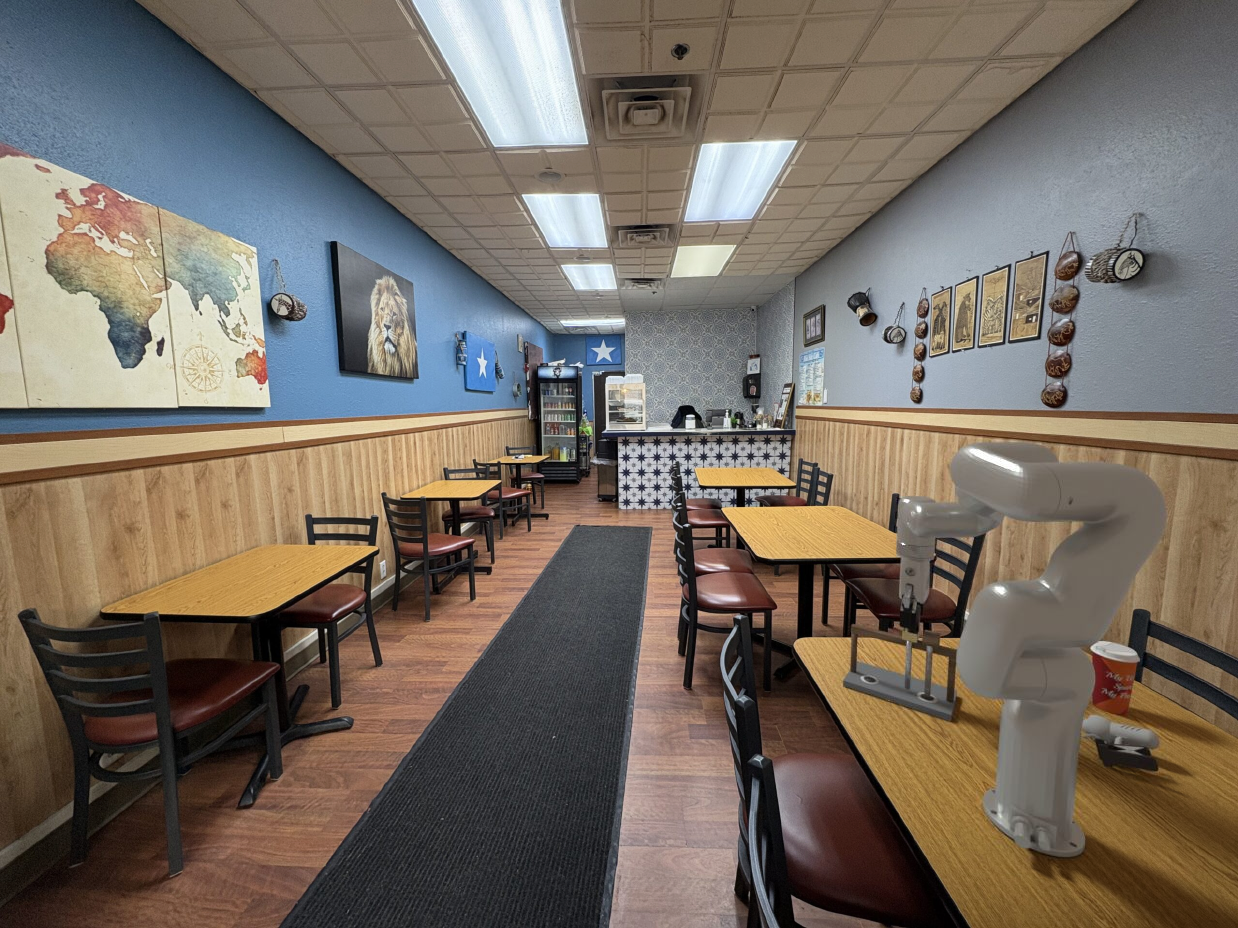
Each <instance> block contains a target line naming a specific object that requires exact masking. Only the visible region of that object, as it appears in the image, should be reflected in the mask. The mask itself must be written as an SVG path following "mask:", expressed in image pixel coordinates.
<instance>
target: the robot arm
mask: <svg viewBox="0 0 1238 928" xmlns="http://www.w3.org/2000/svg"><path fill="white" fill-rule="evenodd" d="M949 474H950V478H951V481H952V483H953V484H954V494H955V497H956V500H957V501H948V502H947V501H941V502H940V501H939V502H936V500H934V499H933V498H931V497H928V496H927V497H926V496H921V495H907V496H906V495H905V496H902V497H901V498H899V501H898V506H897V507H898V508H897V527H896V528H897V531H896V549H895V553H896V554H895V555H896V556H898V557H900V569H899V588H898V595H899V598H900V600H901V603H900V604H901V605H900V609H899V625H898V627H900V628H902V629H903V628H907V629H911V630H915V629H916V619H917V613H916V612H915V611H916V604H918V605H920V606H921V608H920V616H923V614H924V603H925V602H926V600H927V598H928V596H929V594H930V576H931V575H930V573H931V571H930V569H931V566H930V562H931V561H933V560H934V559H935V552H936V551H935V548H936V539H942V538H944V539H945V538H946V539H947V538H952V539H953V538H955V539H956V538H960V539H961V538H967V539H968V538H974V537H979V536H982V535H984V534H986V533H989V532H991V531H993V530H995V529H997V528H998V527H1000V526H1001V525H1002V523H1003V522H1004V520H1005V517H1007V518H1010V519H1012V520H1015V521H1021V522H1027V523H1028V522H1029V523H1069V522H1070V523H1073V522H1074V523H1075V522H1076V523H1077V522H1082V523H1083V524H1082V525H1081V526H1080V527H1079V528H1078V529H1077V530H1075V531H1074V532H1073V533H1071V534H1070V535H1069V536H1067V537H1066V538H1065V539H1064V540H1062V541H1061V543H1060V544H1058V545H1057V547H1055V549H1054V551H1053V552H1052V553H1051V556H1050V558H1049V561H1048V564H1047V566H1046V568H1045V569H1044V571H1043V573H1042V574H1041V576H1039V577H1038V578H1034V579H1030V580H1001V581H1000V580H999V581H995V582H991V583H989V584H988V585H985V586H984V587H982V589H981V590H979V592H978V593H977V594H976V595H975V597H974V600H973V603H972V604H971V607H970V609H969V613H968V616H967V619H966V621H965V623H964V626H963V629H962V633H961V636H960V638H959V642H958V644H957V654H956V671H957V673H958V676H959V678H960V679H961V682H962V683H963V685H964V686H965V687H966V688H967V689H968V690H969V691H971V692H972V693H974V694H975V695H977V696H979V697H982V698H984V699H990V700H1003V701H1004V702H1003V706H1002V707H1001V711H1000V712H1001V714H1000V723H999V734H998V735H999V736H998V738H999V739H998V749H997V762H996V763H997V764H996V765H997V766H996V778H995V787H993V788H990V789H988V790H987V791H985V793H984V795H983V799H982V805H983V806H982V807H983V810H984V813H985V814H986V816H987V818H989V820H990V821H991V822H992V824H994V825H995V827H997V828H998V829H999V830H1000V831H1001V832H1002V833H1004V834H1006V836H1008V837H1010V838H1011V839H1012V840H1013V841H1014V842H1015V844H1016V845H1017V846H1018V847H1020V848H1021V849H1026V850H1028V849H1031V850H1032V851H1033V850H1034V851H1036V852H1039V853H1041V854H1045V855H1047V856H1048V855H1049V856H1053V857H1059V858H1071V857H1077V856H1079V855H1081V854H1082V853H1083V852H1084V851H1085V847H1086V837H1085V833H1084V832H1083V830H1082V828H1081V827H1080V825H1079V824H1078V823H1077V822H1076V820H1074V819H1073V818H1074V808H1075V799H1076V797H1075V796H1076V788H1077V787H1076V785H1077V778H1078V777H1077V775H1078V765H1079V753H1080V752H1079V751H1080V746H1081V745H1080V744H1081V738H1082V737H1081V735H1082V729H1083V728H1082V723H1083V720H1084V716H1085V713H1086V711H1087V708H1088V706H1089V703H1090V700H1091V699H1092V693H1093V690H1094V685H1095V670H1094V667H1093V664H1092V659H1091V658H1090V657H1089V656H1088V654H1087V652H1085V650H1083V649H1082V648H1085V647H1091V646H1093V645H1094V644H1096V643H1097V642H1099V641H1102V639H1103V638H1104V636H1105V634H1106V633H1107V632H1108V630H1109V629H1110V626H1111V624H1112V623H1113V621H1114V619H1115V617H1116V615H1117V613H1118V611H1119V609H1120V607H1121V605H1122V604H1123V601H1124V600H1125V598H1126V596H1127V594H1128V592H1129V589H1130V588H1131V586H1132V583H1133V581H1134V579H1135V578H1136V576H1137V575H1138V573H1139V572H1140V570H1141V569H1142V568H1143V566H1144V565H1145V563H1147V561H1148V559H1149V558H1150V557H1151V555H1152V554H1153V553H1154V551H1155V550H1156V548H1157V547H1158V545H1159V543H1160V541H1161V540H1162V538H1163V535H1164V532H1165V529H1166V526H1167V520H1168V519H1167V518H1168V513H1167V512H1168V510H1167V503H1166V499H1165V497H1164V495H1163V491H1162V490H1161V488H1160V487H1159V486H1158V485H1157V483H1156V482H1155V481H1154V480H1153V479H1152V478H1151V477H1150V476H1149V475H1148V474H1147V473H1145V472H1143V471H1142V470H1141V469H1140V470H1139V469H1138V468H1136V467H1132V466H1130V465H1126V464H1125V465H1124V464H1120V463H1115V462H1114V463H1113V462H1104V461H1064V462H1062V461H1061V462H1060V460H1059V458H1058V456H1057V455H1056V454H1055V452H1053V451H1052V450H1051V449H1049V448H1048V447H1046V446H1043V445H1041V444H1038V443H1035V442H1034V443H1033V442H1028V441H1027V442H1026V441H1007V442H1006V441H999V442H998V441H997V442H996V441H995V442H991V441H990V442H989V441H988V442H972V443H970V444H966V445H965V446H963V447H960V449H958V451H957V452H956V453H955V454H954V455H953V456H952V459H951V461H950V465H949ZM911 603H913V605H912V604H911Z"/></svg>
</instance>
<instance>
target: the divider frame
mask: <svg viewBox="0 0 1238 928" xmlns="http://www.w3.org/2000/svg"><path fill="white" fill-rule="evenodd" d="M850 633H851V636H850V637H851V639H850V641H851V642H850V669H849V671H851V672H853V673H856V668H857V661H858V660H857V659H858V640H859V639H858V637H859V636H858V635H860V636H864V637H869V638H872V639H877V640H880V641H883V642H884V641H885V642H888V643H891V644H892V643H893V644H896V645H899V646H903V647H906V641H907V640H903V639H902V635H899V634H896V633H891V632H887V631H883V630H880V629H875V628H873V627H872V628H871V627H866V626H863V625H859V624H854V623H852V624H851V625H850ZM940 643H941V632H936V631H932V630H927V629H925V630H924V632H923V634H922V635H921V640H920V639H918V642H917V643H915V642H913V643H912V649H916V650H919V651H923V652H925V653H926V654H925V655H926V656H925V673H924V681H925V688H924V693H925V695H926V696H929V695H930V693H931V683H932V675H933V674H932V671H933V655H938V656H942V657H945V658H948V664H947V681H946V682H947V683H946V687H947V697H946V700H947V701H948V702H951V703H953V702H954V690H956V688H955V687H956V671H957V664H956V654H957V649H956V648H952V647H949V646H944V645H940Z"/></svg>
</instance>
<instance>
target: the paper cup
mask: <svg viewBox="0 0 1238 928" xmlns="http://www.w3.org/2000/svg"><path fill="white" fill-rule="evenodd" d="M1090 650H1091V652H1092V654H1091V655H1092V656H1091V657H1092V658H1091V662H1092V664H1093V667H1094V670H1095V685H1094V690H1093V693H1092V696H1091V700H1092V702H1091V703H1092V705H1094V706H1095V707H1096V708H1098V709H1100V710H1101V711H1104V712H1106V713H1110V714H1114V715H1119V716H1123V715H1124V716H1125V715H1127V714H1128V711H1129V708H1130V703H1131V697H1132V693H1133V692H1132V691H1133V687H1134V682H1135V678H1136V677H1135V676H1136V671H1137V668H1138V667H1137V666H1138V662H1141V659H1140V657H1139V655H1138V653H1137V651H1135V650H1134V649H1133V648H1131V647H1128V646H1126V645H1123V644H1120V643H1117V642H1111V641H1105V640H1100V641H1099V642H1097V643H1096V644H1094V645H1091V646H1090Z"/></svg>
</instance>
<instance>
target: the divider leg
mask: <svg viewBox="0 0 1238 928" xmlns="http://www.w3.org/2000/svg"><path fill="white" fill-rule="evenodd" d="M911 604H912V605H913V603H911ZM920 608H921V606H920V605H918V604H916V611H915V612H916V613H917V619H916V629H915V630H911V629H907V628H903V627H902V633H901V634H902V635H901V636H902V639H903V640H907V641H906V646H905V647H906V648H905V661H904V662H905V665H904V666H905V667H904V675H905V684H904V687H905V689H907V690H909V689H910V684H911V677H912V664H913V663H912V660H913V648H912V643H913V642H915V643H917V642H918V640H920V637H921V635H920V634H921V628H920V626H921V615H920Z"/></svg>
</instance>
